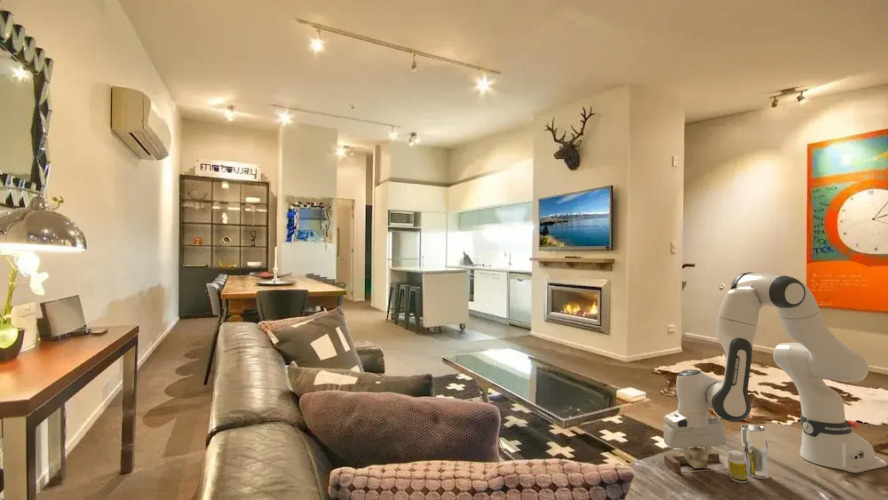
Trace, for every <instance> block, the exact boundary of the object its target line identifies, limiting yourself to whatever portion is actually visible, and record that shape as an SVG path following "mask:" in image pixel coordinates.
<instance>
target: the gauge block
mask: <svg viewBox="0 0 888 500" xmlns="http://www.w3.org/2000/svg"><path fill="white" fill-rule="evenodd" d="M686 451H687V450H686ZM687 453H689V454H690V455H691V456H692V457H691V458H692V460H686V462H687V463H686V464H688V465H690V466H691V467H693V468H694V469H706V468H709V465H708V464H709V463H708V462H707V451H706V450H704V448H703V447H689V448H688V451H687Z"/></svg>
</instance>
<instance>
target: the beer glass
mask: <svg viewBox="0 0 888 500" xmlns="http://www.w3.org/2000/svg"><path fill="white" fill-rule="evenodd" d="M740 438H741V439H740V440H741V445H742V449H743V452H744V453H743V454H744V458H745V461H746V467H747V476H748V477H751V478H754V479H757V480H768V479H770V473H769V470H768V465H767V464H768V463H767V462H768V456H769V455H768V454H769V441H768V440H769V439H768V433H767V429H766V428H765V427H763V426H762V425H761V426H760V425H757V424H751V423H744V424H741V425H740Z"/></svg>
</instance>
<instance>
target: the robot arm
mask: <svg viewBox="0 0 888 500" xmlns="http://www.w3.org/2000/svg"><path fill="white" fill-rule="evenodd" d="M763 306H766V307H767V306H768V307H775V308H776V310H777V313H778V317H779V320H780V322H781V324H782V327H783V330H784V332H785V334H786V335H787V336H788V337H789V338H790V339H792V340H793V341H795V342H783V343H782V342H781V343H778V345H776V346H775V348H774V350H773V352H772V357H773V360H774V363H775V364H776V366H777V367H778V368H780V369H781V370H783V372H784V373H785V374H786V375H788V377H789V378H790V379H791V380H792V382H793V384H794V386H795V388H796V389H797V393H798V396H799V402H800V408H801V413H800V417H799V418H800V425H801V429H802V430H801V442H800V443H801V445H800V450H799V456H800V457H801V458H803V459H804V460H806V461H808V462H811V463H813V464H815V465H819V466H822V467H826V468H831V469H836V470H841V471H846V472H849V473H854V474H855V473H856V474H857V473H863V472H865V471H866V472H867V471H870V470H875V469H879V468H884V467H887V465H888V464H887V462H886V461H885V460H883V459H882V458H880V457H878V456H876V453H875V450H874V447H873V446H872V444H871V443H870V442H868V441H867V440H866V439H864V438H863V437H861V436H860V435H858V434H857V433H855V432H853V430H852V428H854V429H858V428H859V427H860V426H859V425H860V424H859V423H858V422H857V421H854V420H847V419H846V415H845V414H846V413H845V404H844V399H843V397H842V396H841V395H840V393H838V392H837V391H836V390H835V389H833V388H831V387H830V386H828V385H827V383H826V382H825V381H824V380H823V379H826V380H830V381H835V382H843V383H845V382H847V383H859V382H861V381H863V380H864V379H865V378H866V377H867V376H868V374H869V369H870V368H869V363H868V361H867V359H866V358H865V357H864V356H863V355H862V354H861V353H860V352H857V351H855V350H853V349H852V348H850V347H848V346H847V345H845V344H844V343H843V342H842V341H840V340H839V338H837V337H836V336H835V335H834V333H832V331H830V329H829V326H828V325H827V324H826V321H825V319H824V317H823V314H822V312H821V310H820V307H819V304H818V302H817V300H816V298H815V296H814V294H813V293H812V291H811V290H810V288H809V287H808V286H807V284H806V283H804V282H802V281H801V280H799V279H798V278H795V277H794V276H793V277H792V276H789V275H782V274H781V275H780V274H775V273H770V272H765V273H764V272H752V271H751V272H750V271H749V272H743V273H740V274H738V275H736V276H735V277H734V279H733V280H732V282H731V287H730V289H729V290H727V291H726V293H725V294H724V296H723V299H722V301H721V304H720V306H719V310H718V313H717V316H716V320H715V321H716V323H715V336H716V338H717V340H718V342H719V344H720V345H721V347H722V349H723V351H724V353H725V358H726V359H725V360H726V362H725V369H724V374H723V375H724V376H723V380H722V379H719V378H715V377H712V376H709V375H707V374H706V373H704V372H702V371H701V370H700V369H691V368H690V369H684V370H682V371H679V372H678V374H677V376H676V381H675V383H676V384H675V385H676V387H675V388H676V397H677V399H678V404H677V409H676V410H674V411H671V412H670V413H668V414H665V415H664V417H663V419H664V422H665V423H664V425H663V442H664V444H665V445H666V446H667V447H669V448H670V449H672V450H673V449H680V450H681V451H682V453H684V458H685V459H686V460H692V458H691V457H692V456H691V455H690V454H689V453H687V451H688V448H689V447H701V448H703V447H704V448H703V449H704V450H706V451H707V459H708V458H709V457H708V454H709V452H710V451H712V447H715V446H716V447H717V446H719V447H720V446H725V445H726V443H727V436H726V432H725V428H724V421H723V420H725V421H728V422H732V423H733V422H734V423H735V422H736V423H738V422H740V421H744V420H745V419H747V418H748V417H749V415H750V414H751V410H752V405H751V400H750V397H749V382H750V381H749V380H750V373H751V365H752V360H753V359H752V357H753V347H754V341H755V337H756V331H757V327H758V326H757V325H758V322H759V316H760V310H761V309H762V307H763ZM709 409H713V410H714V413H716V414H717V416H716V415H715V416H709V415H708V414H709V412H708V411H709ZM686 450H687V451H686Z"/></svg>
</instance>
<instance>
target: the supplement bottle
mask: <svg viewBox="0 0 888 500" xmlns="http://www.w3.org/2000/svg"><path fill="white" fill-rule="evenodd" d="M727 464H728V473H729V474H728V476H729V478H730V480H731V481H734V482H736V483H738V484H739V483H740V484H745V483H748V474H747V467H746V466H747V461H746V459H745V453H743V452H742V451H740V450H735V449H730V450H728V457H727Z"/></svg>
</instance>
